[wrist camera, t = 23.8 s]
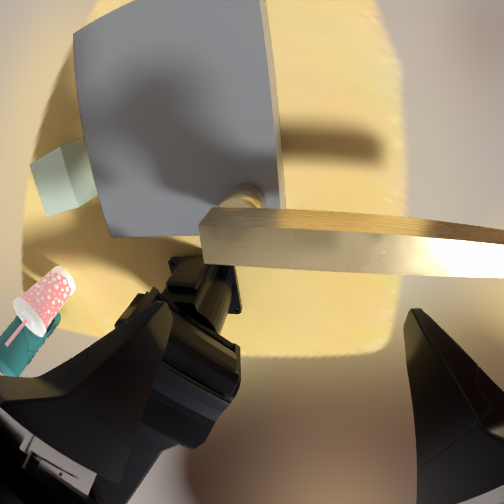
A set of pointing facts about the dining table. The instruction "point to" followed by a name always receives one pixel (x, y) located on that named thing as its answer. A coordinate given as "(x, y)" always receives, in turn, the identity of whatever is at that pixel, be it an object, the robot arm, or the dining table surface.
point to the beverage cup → (43, 301)
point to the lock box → (178, 111)
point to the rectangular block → (64, 178)
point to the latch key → (344, 240)
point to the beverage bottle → (21, 346)
